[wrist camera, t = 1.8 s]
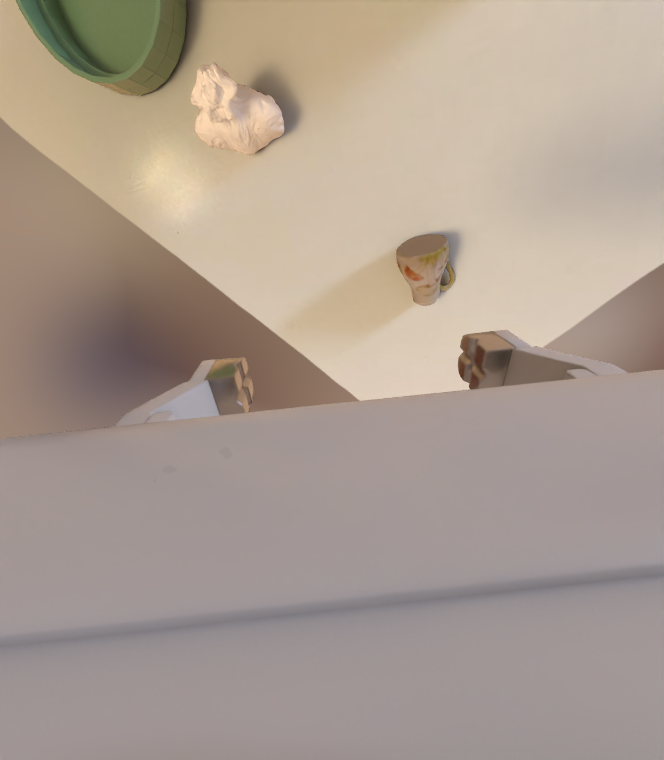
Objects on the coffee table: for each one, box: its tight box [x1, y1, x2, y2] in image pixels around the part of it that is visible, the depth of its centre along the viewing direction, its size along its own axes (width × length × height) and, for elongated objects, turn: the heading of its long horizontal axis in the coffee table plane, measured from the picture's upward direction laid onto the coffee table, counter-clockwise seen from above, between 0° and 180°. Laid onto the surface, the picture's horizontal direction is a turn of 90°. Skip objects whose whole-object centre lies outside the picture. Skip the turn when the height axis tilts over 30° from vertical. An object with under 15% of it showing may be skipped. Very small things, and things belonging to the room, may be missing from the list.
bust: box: [190, 63, 284, 155], centre depth 38 cm, size 12×8×11 cm
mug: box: [396, 235, 455, 306], centre depth 45 cm, size 8×10×10 cm
